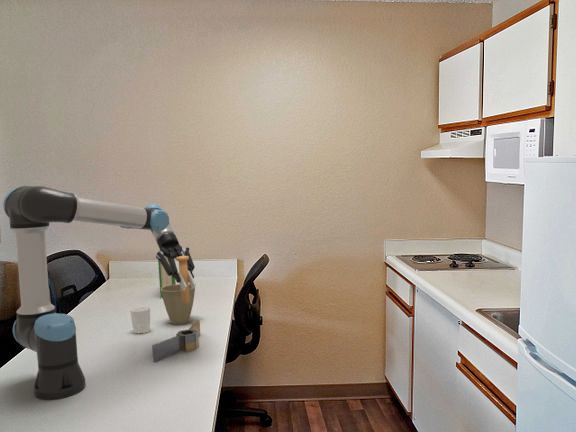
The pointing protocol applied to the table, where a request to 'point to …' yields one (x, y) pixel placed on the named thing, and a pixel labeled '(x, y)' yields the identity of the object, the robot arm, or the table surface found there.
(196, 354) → the table surface
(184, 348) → the hinge leaf
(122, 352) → the table surface
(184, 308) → the plant pot
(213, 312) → the table surface
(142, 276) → the table surface
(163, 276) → the hardback book
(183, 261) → the hinge pin
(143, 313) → the white cup
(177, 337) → the hinge leaf
